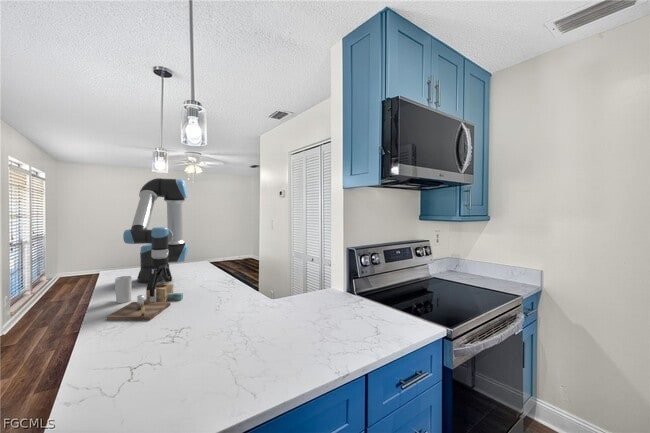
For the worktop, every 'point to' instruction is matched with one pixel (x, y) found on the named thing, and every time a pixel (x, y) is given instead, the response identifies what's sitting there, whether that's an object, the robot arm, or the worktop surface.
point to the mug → (123, 289)
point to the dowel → (142, 311)
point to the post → (140, 302)
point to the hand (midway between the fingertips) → (160, 298)
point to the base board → (139, 311)
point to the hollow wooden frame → (164, 293)
